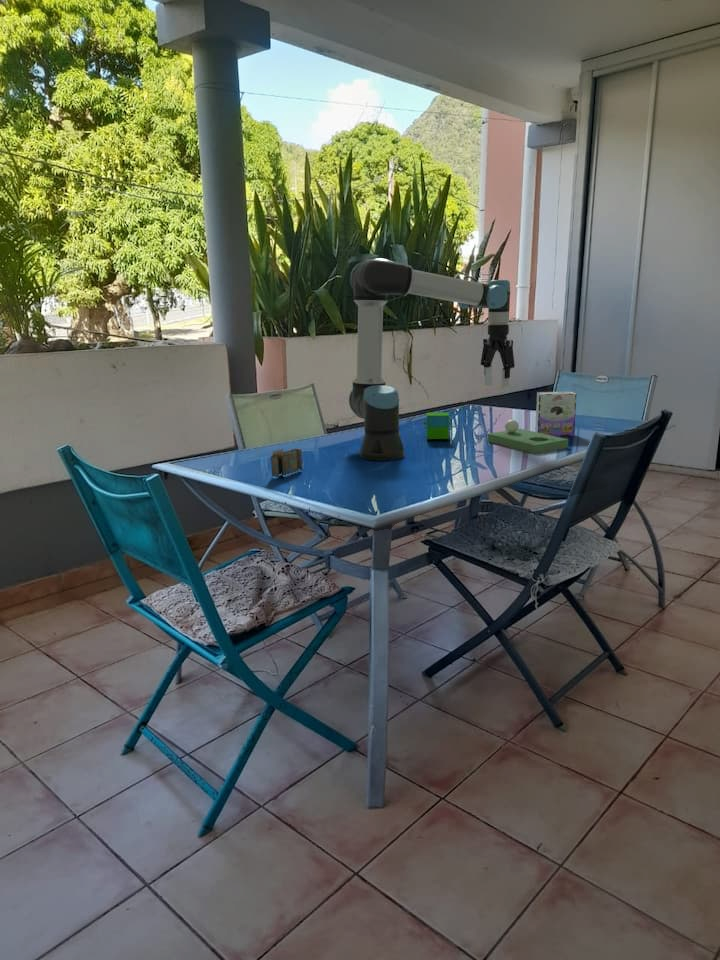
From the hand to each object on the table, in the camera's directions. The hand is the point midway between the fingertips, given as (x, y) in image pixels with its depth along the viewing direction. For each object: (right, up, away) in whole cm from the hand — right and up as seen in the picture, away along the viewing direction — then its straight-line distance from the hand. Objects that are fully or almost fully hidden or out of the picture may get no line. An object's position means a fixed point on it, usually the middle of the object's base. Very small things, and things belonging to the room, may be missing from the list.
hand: (496, 385), depth 249 cm
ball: (+5, -15, -4) cm, 17 cm away
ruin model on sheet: (-74, -34, -42) cm, 92 cm away
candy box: (+23, -18, +6) cm, 30 cm away
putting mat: (+9, -22, -9) cm, 26 cm away
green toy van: (-21, -20, +5) cm, 30 cm away
